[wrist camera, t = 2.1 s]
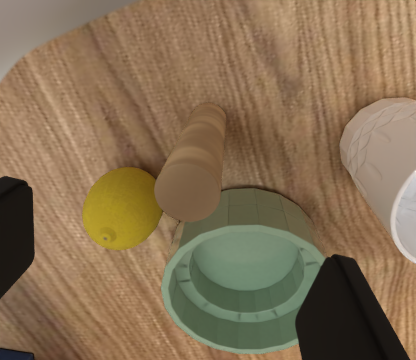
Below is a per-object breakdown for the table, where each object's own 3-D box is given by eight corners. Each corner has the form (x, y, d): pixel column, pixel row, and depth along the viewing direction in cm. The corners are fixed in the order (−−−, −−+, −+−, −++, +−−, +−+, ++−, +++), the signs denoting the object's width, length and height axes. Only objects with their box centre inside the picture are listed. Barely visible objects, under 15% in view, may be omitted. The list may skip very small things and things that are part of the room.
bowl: (164, 282, 31) (150, 334, 26) (189, 169, 25) (178, 205, 20) (288, 310, 31) (299, 367, 26) (340, 205, 26) (369, 250, 20)
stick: (187, 133, 24) (149, 214, 13) (194, 98, 23) (159, 156, 12) (221, 141, 24) (212, 228, 13) (230, 107, 23) (227, 172, 12)
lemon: (96, 171, 26) (43, 223, 19) (147, 141, 24) (112, 185, 17) (133, 219, 28) (99, 282, 21) (183, 194, 26) (165, 254, 19)
